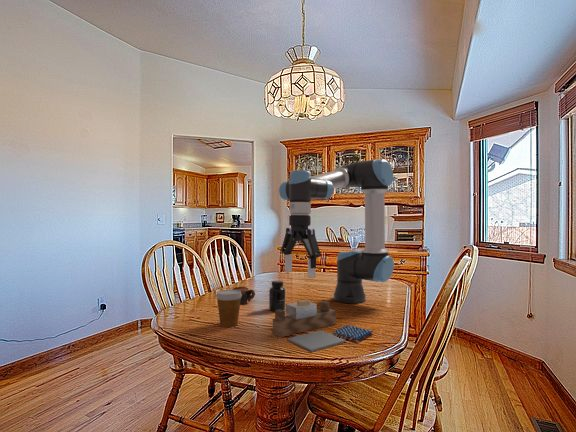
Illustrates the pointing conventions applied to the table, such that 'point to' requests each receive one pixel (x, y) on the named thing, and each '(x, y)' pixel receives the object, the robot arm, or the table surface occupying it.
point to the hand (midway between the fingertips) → (299, 275)
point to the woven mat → (352, 333)
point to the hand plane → (303, 321)
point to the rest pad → (316, 340)
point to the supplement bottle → (277, 296)
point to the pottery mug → (245, 294)
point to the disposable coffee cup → (228, 307)
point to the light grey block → (301, 309)
